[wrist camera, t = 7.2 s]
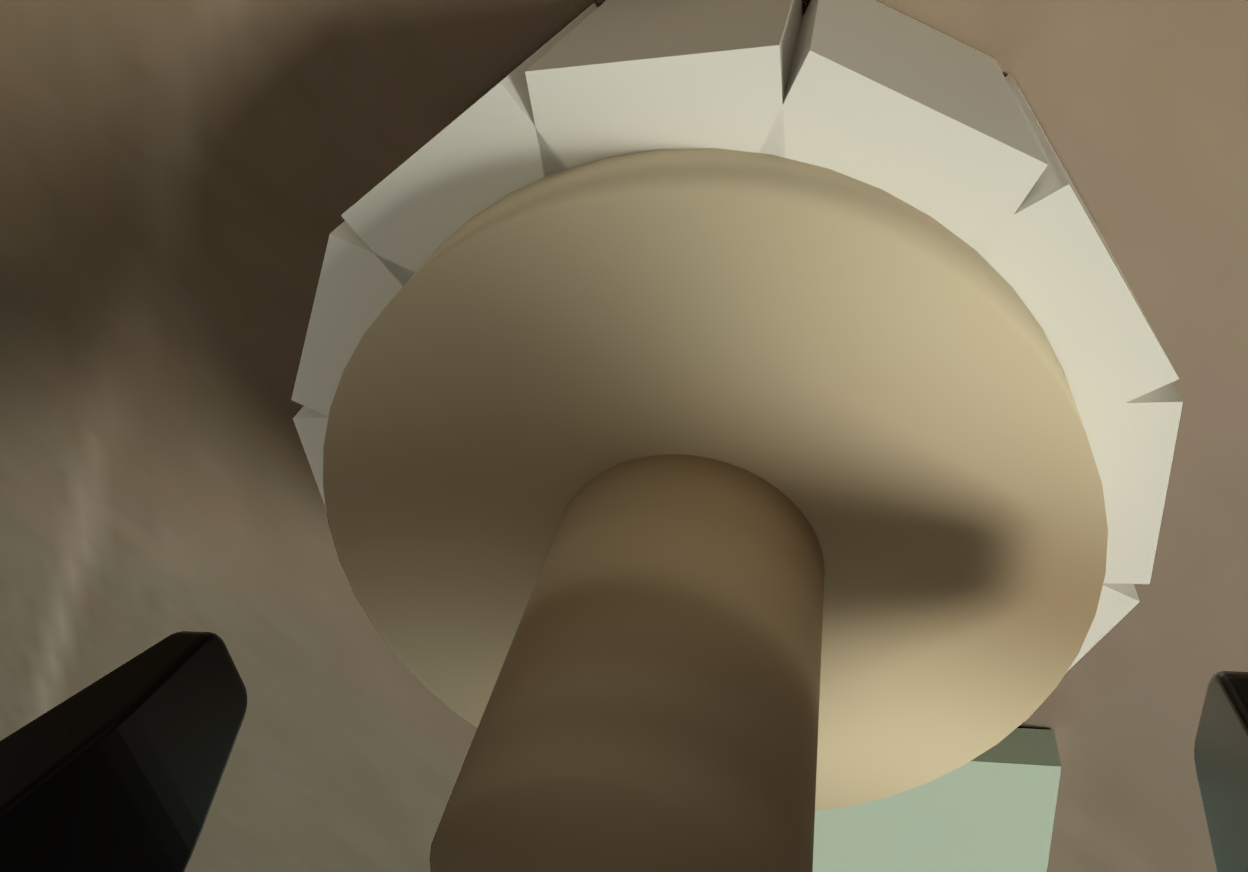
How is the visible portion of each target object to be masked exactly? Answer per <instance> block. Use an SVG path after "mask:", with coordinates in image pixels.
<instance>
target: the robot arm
mask: <svg viewBox="0 0 1248 872" xmlns="http://www.w3.org/2000/svg"><path fill="white" fill-rule="evenodd" d="M246 707H247V692H246V688H245V685H244V683H243V681H242V679H241V677H240V675H239V673H238V671H237V669H236V666H235V664H234V662H233V660H232V658H231V656H230V654H229V652H228V650H227V648H226V645H225V643H224V642H223V640H222V639H221V638H220V637H219V636H218V635H216V634H214V633H211V632H188V631H183V632H177V633H174V634H172V635H170V636H168V637H167V638H165V639H163V640H162V641H160V642H159V643H157V644H155V645H154V646H152V647H151V648H149V649H147V650H146V651H144V652H143V653H141V654H139V655H138V656H136V657H134V658H133V659H131V660H130V661H128V662H126V663H125V664H123V665H122V666H120V667H118V668H117V669H115V670H114V671H112V672H110V673H109V674H107V675H106V676H104V677H102V678H101V679H99V680H98V681H96V682H94V683H93V684H91V685H90V686H88V687H86V688H85V689H83V690H82V691H80V692H78V693H77V694H75V695H74V696H72V697H70V698H69V699H67V700H66V701H64V702H62V703H61V704H59V705H58V706H56V707H54V708H53V709H51V710H50V711H48V712H46V713H45V714H43V715H42V716H40V717H38V718H37V719H35V720H33V721H32V722H30V723H29V724H27V725H25V726H24V727H22V728H21V729H19V730H17V731H16V732H14V733H13V734H11V735H9V736H8V737H6V738H5V739H3V740H1V741H0V872H184V871H185V868H186V866H187V864H188V862H189V860H190V858H191V855H192V853H193V850H194V848H195V846H196V843H197V841H198V838H199V836H200V833H201V831H202V828H203V825H204V823H205V820H206V817H207V815H208V812H209V809H210V807H211V804H212V801H213V799H214V796H215V793H216V791H217V788H218V785H219V783H220V780H221V777H222V775H223V772H224V769H225V767H226V764H227V761H228V759H229V756H230V753H231V751H232V748H233V745H234V743H235V740H236V737H237V735H238V732H239V729H240V727H241V724H242V721H243V719H244V716H245V712H246ZM1194 753H1195V766H1196V772H1197V777H1198V782H1199V787H1200V791H1201V796H1202V801H1203V806H1204V810H1205V815H1206V820H1207V825H1208V829H1209V834H1210V839H1211V843H1212V848H1213V853H1214V858H1215V862H1216V867H1217V872H1248V672H1231V671H1222V672H1218V673H1216V674H1214V675H1213V677H1212V678H1211V680H1210V682H1209V685H1208V688H1207V692H1206V697H1205V701H1204V705H1203V709H1202V714H1201V718H1200V722H1199V726H1198V730H1197V735H1196V739H1195V749H1194Z"/></svg>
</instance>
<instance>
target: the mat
mask: <svg viewBox="0 0 1248 872" xmlns="http://www.w3.org/2000/svg"><path fill="white" fill-rule="evenodd" d="M1060 772H1061V763H1060V758H1059V753H1058V749H1057V744H1056V739H1055V734H1054V730H1046V729H1027V728H1016V729H1015V730H1014V731H1012V732H1011V733H1010V734H1009V735H1008V736H1006V737H1005V738H1004V739H1003V740H1002V741H1000V742H999V743H998V744H997V745H995V746H993V747H992V748H990V749H989V750H987V751H986V752H984V753H982V754H981V755H979V756H978V757H976V758H975V759H973V760H971V761H970V762H968V763H967V764H965V765H963V766H962V767H959V768H957V769H955V770H953V771H951V772H949V773H947V774H945V775H943V776H941V777H939V778H936V779H934V780H932V781H930V782H928V783H926V784H923V785H920V786H918V787H915V788H912V789H909V790H906V791H903V792H900V793H898V794H895V795H892V796H889V797H886V798H882V799H878V800H874V801H869V802H865V803H861V804H857V805H853V806H849V807H843V808H836V809H829V810H822V811H815V821H814V846H813V870H812V872H1047V866H1048V859H1049V852H1050V844H1051V837H1052V830H1053V823H1054V815H1055V808H1056V801H1057V794H1058V787H1059V779H1060Z"/></svg>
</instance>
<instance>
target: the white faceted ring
mask: <svg viewBox="0 0 1248 872" xmlns="http://www.w3.org/2000/svg"><path fill="white" fill-rule="evenodd" d="M701 148H718V149H727V150H736V151H745V152H753V153H762V154H771V155H776V156H780V157H784V158H788V159H792V160H796V161H800V162H804V163H808V164H812V165H816V166H820V167H824V168H828V169H831V170H834V171H836V172H839V173H841V174H844V175H847V176H849V177H852V178H854V179H857V180H859V181H862V182H864V183H867V184H869V185H872V186H875V187H877V188H880V189H882V190H884V191H886V192H888V193H890V194H891V195H893V196H895V197H897V198H899V199H900V200H902V201H904V202H906V203H908V204H909V205H911V206H913V207H915V208H916V209H918V210H920V211H922V212H924V213H925V214H927V215H929V216H931V217H932V218H934V219H935V220H936V221H938V222H939V223H940V224H942V225H943V226H944V227H946V228H947V229H948V230H950V231H951V232H952V233H954V234H955V235H956V236H958V237H959V238H960V239H962V240H963V241H964V242H966V243H967V244H968V245H970V246H971V247H972V248H974V249H975V250H976V251H977V252H978V253H979V254H980V255H981V256H982V257H983V258H984V259H985V260H986V261H987V262H988V263H989V264H990V265H991V266H992V267H993V268H994V269H995V270H996V271H997V272H998V273H999V274H1000V275H1001V276H1002V277H1003V278H1004V279H1005V280H1006V281H1007V282H1008V283H1009V284H1010V285H1011V286H1012V287H1013V288H1014V290H1015V291H1016V293H1017V294H1018V295H1019V297H1020V298H1021V299H1022V301H1023V302H1024V304H1025V305H1026V306H1027V308H1028V309H1029V310H1030V312H1031V313H1032V315H1033V316H1034V317H1035V319H1036V320H1037V321H1038V323H1039V324H1040V326H1041V327H1042V328H1043V330H1044V332H1045V334H1046V336H1047V338H1048V340H1049V342H1050V344H1051V346H1052V348H1053V350H1054V352H1055V354H1056V356H1057V358H1058V360H1059V362H1060V364H1061V366H1062V368H1063V370H1064V372H1065V375H1066V378H1067V381H1068V383H1069V386H1070V389H1071V392H1072V395H1073V398H1074V400H1075V403H1076V406H1077V409H1078V412H1079V415H1080V417H1081V420H1082V423H1083V426H1084V429H1085V432H1086V435H1087V437H1088V441H1089V444H1090V447H1091V450H1092V453H1093V456H1094V460H1095V463H1096V466H1097V469H1098V472H1099V476H1100V479H1101V482H1102V486H1103V494H1104V502H1105V510H1106V518H1107V526H1108V539H1107V557H1106V574H1105V578H1104V582H1103V586H1102V590H1101V595H1100V599H1099V603H1098V607H1097V611H1096V615H1095V617H1094V620H1093V622H1092V624H1091V626H1090V629H1089V631H1088V633H1087V636H1086V638H1085V640H1084V642H1083V645H1082V647H1081V649H1080V652H1079V654H1078V655H1077V657H1076V658H1075V660H1074V661H1073V663H1072V664H1071V666H1070V667H1069V669H1070V668H1071V667H1072V666H1073V665H1074V664H1076V663H1077V662H1078V661H1079V660H1080V659H1081V658H1082V657H1083V656H1084V655H1085V654H1086V653H1087V652H1088V651H1089V650H1090V649H1091V648H1092V647H1093V646H1094V645H1095V644H1096V643H1097V642H1098V641H1099V640H1100V639H1101V638H1102V637H1104V636H1105V635H1106V634H1107V633H1108V632H1109V631H1110V630H1111V629H1112V628H1113V627H1114V626H1115V625H1116V624H1117V623H1118V622H1119V621H1120V620H1121V619H1122V618H1123V617H1124V616H1125V615H1126V614H1127V613H1128V612H1129V611H1130V610H1131V609H1133V608H1134V607H1135V606H1136V605H1137V604H1138V603H1139V602H1140V601H1139V598H1138V595H1137V592H1136V590H1135V587H1134V584H1150V580H1151V574H1152V569H1153V563H1154V558H1155V552H1156V547H1157V541H1158V536H1159V530H1160V525H1161V519H1162V514H1163V508H1164V503H1165V497H1166V492H1167V486H1168V481H1169V475H1170V470H1171V464H1172V459H1173V453H1174V448H1175V442H1176V437H1177V431H1178V426H1179V420H1180V415H1181V409H1182V404H1183V401H1182V399H1181V397H1180V395H1179V394H1178V392H1177V390H1176V388H1175V386H1174V384H1173V382H1174V381H1176V380H1178V379H1179V378H1178V376H1177V374H1176V372H1175V370H1174V369H1173V367H1172V365H1171V363H1170V361H1169V359H1168V357H1167V356H1166V354H1165V352H1164V350H1163V348H1162V346H1161V344H1160V343H1159V341H1158V339H1157V337H1156V335H1155V333H1154V331H1153V330H1152V328H1151V326H1150V324H1149V322H1148V320H1147V319H1146V317H1145V315H1144V313H1143V311H1142V309H1141V307H1140V306H1139V304H1138V302H1137V300H1136V298H1135V296H1134V294H1133V293H1132V291H1131V289H1130V287H1129V285H1128V283H1127V281H1126V280H1125V278H1124V276H1123V274H1122V272H1121V270H1120V268H1119V267H1118V265H1117V263H1116V261H1115V259H1114V257H1113V255H1112V254H1111V252H1110V250H1109V248H1108V246H1107V244H1106V242H1105V241H1104V239H1103V237H1102V235H1101V233H1100V231H1099V229H1098V228H1097V226H1096V224H1095V222H1094V220H1093V219H1092V217H1091V215H1090V213H1089V212H1088V210H1087V208H1086V206H1085V204H1084V203H1083V201H1082V199H1081V197H1080V196H1079V194H1078V192H1077V190H1076V188H1075V187H1074V185H1073V183H1072V181H1071V180H1070V178H1069V176H1068V174H1067V172H1066V171H1065V169H1064V167H1063V165H1062V163H1061V162H1060V160H1059V158H1058V156H1057V155H1056V153H1055V151H1054V149H1053V147H1052V146H1051V144H1050V142H1049V140H1048V139H1047V137H1046V135H1045V133H1044V131H1043V130H1042V128H1041V126H1040V124H1039V123H1038V121H1037V119H1036V117H1035V115H1034V114H1033V112H1032V110H1031V108H1030V107H1029V105H1028V103H1027V101H1026V99H1025V98H1024V96H1023V94H1022V92H1021V91H1020V89H1019V87H1018V85H1017V83H1016V82H1015V80H1014V78H1013V76H1012V75H1011V74H1009V75H1007V76H1006V77H1004V75H1003V73H1002V71H1001V69H1000V67H999V65H998V63H997V61H996V59H995V58H993V57H990V56H988V55H986V54H984V53H982V52H980V51H978V50H976V49H974V48H972V47H970V46H968V45H966V44H964V43H962V42H960V41H957V40H955V39H953V38H951V37H949V36H947V35H945V34H943V33H941V32H939V31H937V30H935V29H933V28H931V27H929V26H927V25H925V24H922V23H920V22H918V21H916V20H914V19H912V18H910V17H908V16H906V15H904V14H902V13H900V12H898V11H896V10H894V9H892V8H889V7H887V6H885V5H883V4H881V3H879V2H877V1H875V0H811V1H810V3H809V5H808V7H807V9H806V11H805V13H804V15H803V13H802V0H606V1H605V2H604V3H603V4H601V5H600V6H599V7H597V6H596V4H595V3H593V4H592V5H591V6H589V7H588V8H587V9H586V10H585V11H583V12H582V13H581V14H580V15H579V16H578V17H576V18H575V19H574V20H573V21H572V22H570V23H569V24H568V25H567V26H566V27H564V28H563V29H562V30H561V31H560V32H558V33H557V34H556V35H555V36H554V37H552V38H551V39H550V40H549V41H548V42H546V43H545V44H544V45H543V46H542V47H540V48H539V49H538V50H537V51H536V52H534V53H533V54H532V55H531V56H530V57H529V58H527V59H526V60H525V61H524V62H523V63H521V64H520V65H519V66H518V67H517V68H515V69H514V70H513V71H512V72H511V73H509V74H508V75H507V76H506V77H505V78H503V79H502V80H501V81H500V82H499V83H497V84H496V85H495V86H494V87H493V88H491V89H490V90H489V91H488V92H487V93H485V94H484V95H483V96H482V97H481V98H480V99H478V100H477V101H476V102H475V103H474V104H472V105H471V106H470V107H469V108H468V109H466V110H465V111H464V112H463V113H462V114H460V115H459V116H458V117H457V118H456V119H455V120H453V121H452V122H451V123H450V124H449V125H447V126H446V127H445V128H444V129H443V130H441V131H440V132H439V133H438V134H437V135H436V136H434V137H433V138H432V139H431V140H430V141H428V142H427V143H426V144H425V145H424V146H422V147H421V148H420V149H419V150H418V151H417V152H415V153H414V154H413V155H412V156H411V157H409V158H408V159H407V160H406V161H405V162H404V163H402V164H401V165H400V166H399V167H398V168H396V169H395V170H394V171H393V172H392V173H390V174H389V175H388V176H387V177H386V178H385V179H383V180H382V181H381V182H380V183H379V184H377V185H376V186H375V187H374V188H373V189H371V190H370V191H369V192H368V193H367V194H366V195H364V196H363V197H362V198H361V199H360V200H358V201H357V202H356V203H355V204H354V205H353V206H351V207H350V208H349V209H348V210H347V211H345V212H344V213H343V214H342V215H341V216H342V217H343V219H344V220H345V221H344V222H343V223H342V224H340V225H339V226H338V227H337V228H336V229H335V230H333V231H332V232H331V233H330V235H329V239H328V243H327V248H326V252H325V256H324V260H323V265H322V269H321V273H320V278H319V282H318V286H317V291H316V295H315V299H314V304H313V308H312V312H311V317H310V321H309V325H308V329H307V334H306V338H305V342H304V347H303V351H302V355H301V360H300V364H299V368H298V373H297V377H296V381H295V386H294V390H293V394H292V398H291V400H292V401H294V402H297V403H299V404H301V405H303V407H302V409H301V410H300V411H299V412H298V413H297V414H296V415H295V417H294V418H293V421H294V423H295V426H296V429H297V432H298V434H299V437H300V440H301V443H302V445H303V448H304V451H305V453H306V456H307V459H308V462H309V464H310V467H311V470H312V472H313V475H314V478H315V481H316V483H317V486H318V489H319V492H320V494H321V497H322V500H323V502H324V505H325V508H326V503H325V496H324V490H323V446H324V440H325V435H326V429H327V423H328V417H329V412H330V407H331V404H332V402H333V399H334V396H335V393H336V390H337V387H338V385H339V382H340V379H341V376H342V373H343V371H344V369H345V367H346V365H347V363H348V361H349V360H350V358H351V356H352V354H353V353H354V351H355V349H356V347H357V345H358V344H359V342H360V340H361V338H362V337H363V335H364V333H365V332H366V331H367V329H368V328H369V327H370V326H371V324H372V323H373V322H374V321H375V319H376V318H377V317H378V316H379V315H380V313H381V312H382V311H383V310H384V308H385V307H386V306H387V305H388V303H389V302H390V301H391V300H392V298H393V297H394V296H395V295H396V294H397V293H398V292H399V291H400V290H401V288H402V287H403V286H404V285H405V284H406V283H407V282H408V281H409V279H410V278H411V277H412V276H413V275H414V274H415V273H416V272H417V271H418V269H419V268H420V267H421V266H422V265H423V264H424V263H425V262H426V261H427V259H428V258H429V257H430V256H431V255H432V254H433V253H434V252H435V250H436V249H437V248H438V247H439V246H441V245H442V244H443V243H444V242H445V241H446V240H447V239H448V238H450V237H451V236H452V235H453V234H454V233H455V232H456V231H457V230H458V229H460V228H461V227H462V226H463V225H464V224H465V223H466V222H467V221H469V220H470V219H471V218H472V217H474V216H475V215H477V214H479V213H480V212H482V211H483V210H485V209H486V208H488V207H489V206H491V205H492V204H494V203H495V202H497V201H499V200H500V199H502V198H503V197H505V196H506V195H508V194H509V193H511V192H513V191H515V190H518V189H520V188H522V187H524V186H526V185H529V184H531V183H533V182H535V181H537V180H540V179H542V178H544V177H546V176H548V175H551V174H553V173H555V172H558V171H561V170H565V169H568V168H571V167H575V166H578V165H582V164H585V163H588V162H592V161H595V160H599V159H602V158H605V157H612V156H618V155H625V154H631V153H638V152H645V151H651V150H658V149H701ZM326 511H327V510H326ZM1069 669H1068V670H1069ZM1068 670H1067V671H1068Z"/></svg>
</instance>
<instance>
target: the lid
mask: <svg viewBox="0 0 1248 872" xmlns="http://www.w3.org/2000/svg"><path fill="white" fill-rule="evenodd" d="M323 490H324V496H325V503H326V510H327V517H328V524H329V527H330V531H331V534H332V537H333V541H334V544H335V547H336V551H337V554H338V558H339V561H340V563H341V565H342V567H343V570H344V572H345V574H346V576H347V579H348V581H349V583H350V585H351V587H352V590H353V592H354V594H355V596H356V598H357V599H358V601H359V603H360V604H361V606H362V608H363V609H364V611H365V613H366V614H367V616H368V618H369V619H370V621H371V623H372V624H373V626H374V627H375V629H376V630H377V632H378V633H379V634H380V635H381V637H382V638H383V639H384V641H385V642H386V643H387V644H388V646H389V647H390V648H391V650H392V651H393V652H394V654H395V655H396V656H397V657H398V659H399V660H400V661H401V662H402V663H403V664H404V665H405V666H406V667H407V668H408V669H409V670H410V671H411V672H412V673H413V674H414V675H415V677H416V678H417V679H418V680H419V681H420V682H421V683H422V684H423V685H424V686H425V687H426V688H427V689H428V690H429V691H431V692H432V693H433V694H434V695H435V696H436V697H438V698H439V699H440V700H441V701H442V702H443V703H445V704H446V705H447V706H448V707H449V708H450V709H452V710H453V711H454V712H455V713H456V714H458V715H459V716H461V717H462V718H463V719H465V720H466V721H468V722H469V723H470V724H472V725H473V726H475V727H476V728H477V731H476V733H475V736H474V738H473V741H472V743H471V746H470V748H469V751H468V753H467V756H466V758H465V761H464V763H463V766H462V768H461V771H460V773H459V776H458V778H457V781H456V783H455V786H454V788H453V791H452V793H451V796H450V798H449V801H448V803H447V806H446V808H445V811H444V813H443V816H442V818H441V821H440V823H439V826H438V828H437V831H436V834H435V836H434V839H433V842H432V844H431V852H430V868H431V872H812V870H813V846H814V821H815V811H822V810H829V809H836V808H843V807H849V806H853V805H857V804H861V803H865V802H869V801H874V800H878V799H882V798H886V797H889V796H892V795H895V794H898V793H900V792H903V791H906V790H909V789H912V788H915V787H918V786H920V785H923V784H926V783H928V782H930V781H932V780H934V779H936V778H939V777H941V776H943V775H945V774H947V773H949V772H951V771H953V770H955V769H957V768H959V767H962V766H963V765H965V764H967V763H968V762H970V761H971V760H973V759H975V758H976V757H978V756H979V755H981V754H982V753H984V752H986V751H987V750H989V749H990V748H992V747H993V746H995V745H997V744H998V743H999V742H1000V741H1002V740H1003V739H1004V738H1005V737H1006V736H1008V735H1009V734H1010V733H1011V732H1012V731H1014V730H1015V729H1016V728H1017V727H1018V726H1020V725H1021V724H1022V723H1023V722H1024V721H1026V720H1027V719H1028V718H1029V717H1030V716H1031V715H1032V714H1033V713H1034V712H1035V711H1036V709H1037V708H1038V707H1039V706H1040V705H1041V704H1042V703H1043V702H1044V701H1045V699H1046V698H1047V697H1048V696H1049V695H1050V694H1051V693H1052V692H1053V691H1054V689H1055V688H1056V687H1057V686H1058V684H1059V683H1060V681H1061V680H1062V678H1063V677H1064V675H1065V673H1066V672H1067V670H1068V669H1069V667H1070V666H1071V664H1072V663H1073V661H1074V660H1075V658H1076V657H1077V655H1078V654H1079V652H1080V649H1081V647H1082V645H1083V642H1084V640H1085V638H1086V636H1087V633H1088V631H1089V629H1090V626H1091V624H1092V622H1093V620H1094V617H1095V615H1096V611H1097V607H1098V603H1099V599H1100V595H1101V590H1102V586H1103V582H1104V578H1105V574H1106V557H1107V539H1108V526H1107V518H1106V510H1105V502H1104V494H1103V486H1102V482H1101V479H1100V476H1099V472H1098V469H1097V466H1096V463H1095V460H1094V456H1093V453H1092V450H1091V447H1090V444H1089V441H1088V437H1087V435H1086V432H1085V429H1084V426H1083V423H1082V420H1081V417H1080V415H1079V412H1078V409H1077V406H1076V403H1075V400H1074V398H1073V395H1072V392H1071V389H1070V386H1069V383H1068V381H1067V378H1066V375H1065V372H1064V370H1063V368H1062V366H1061V364H1060V362H1059V360H1058V358H1057V356H1056V354H1055V352H1054V350H1053V348H1052V346H1051V344H1050V342H1049V340H1048V338H1047V336H1046V334H1045V332H1044V330H1043V328H1042V327H1041V326H1040V324H1039V323H1038V321H1037V320H1036V319H1035V317H1034V316H1033V315H1032V313H1031V312H1030V310H1029V309H1028V308H1027V306H1026V305H1025V304H1024V302H1023V301H1022V299H1021V298H1020V297H1019V295H1018V294H1017V293H1016V291H1015V290H1014V288H1013V287H1012V286H1011V285H1010V284H1009V283H1008V282H1007V281H1006V280H1005V279H1004V278H1003V277H1002V276H1001V275H1000V274H999V273H998V272H997V271H996V270H995V269H994V268H993V267H992V266H991V265H990V264H989V263H988V262H987V261H986V260H985V259H984V258H983V257H982V256H981V255H980V254H979V253H978V252H977V251H976V250H975V249H974V248H972V247H971V246H970V245H968V244H967V243H966V242H964V241H963V240H962V239H960V238H959V237H958V236H956V235H955V234H954V233H952V232H951V231H950V230H948V229H947V228H946V227H944V226H943V225H942V224H940V223H939V222H938V221H936V220H935V219H934V218H932V217H931V216H929V215H927V214H925V213H924V212H922V211H920V210H918V209H916V208H915V207H913V206H911V205H909V204H908V203H906V202H904V201H902V200H900V199H899V198H897V197H895V196H893V195H891V194H890V193H888V192H886V191H884V190H882V189H880V188H877V187H875V186H872V185H869V184H867V183H864V182H862V181H859V180H857V179H854V178H852V177H849V176H847V175H844V174H841V173H839V172H836V171H834V170H831V169H828V168H824V167H820V166H816V165H812V164H808V163H804V162H800V161H796V160H792V159H788V158H784V157H780V156H776V155H771V154H762V153H753V152H745V151H736V150H727V149H718V148H701V149H658V150H651V151H645V152H638V153H631V154H625V155H618V156H612V157H605V158H602V159H599V160H595V161H592V162H588V163H585V164H582V165H578V166H575V167H571V168H568V169H565V170H561V171H558V172H555V173H553V174H551V175H548V176H546V177H544V178H542V179H540V180H537V181H535V182H533V183H531V184H529V185H526V186H524V187H522V188H520V189H518V190H515V191H513V192H511V193H509V194H508V195H506V196H505V197H503V198H502V199H500V200H499V201H497V202H495V203H494V204H492V205H491V206H489V207H488V208H486V209H485V210H483V211H482V212H480V213H479V214H477V215H475V216H474V217H472V218H471V219H470V220H469V221H467V222H466V223H465V224H464V225H463V226H462V227H461V228H460V229H458V230H457V231H456V232H455V233H454V234H453V235H452V236H451V237H450V238H448V239H447V240H446V241H445V242H444V243H443V244H442V245H441V246H439V247H438V248H437V249H436V250H435V252H434V253H433V254H432V255H431V256H430V257H429V258H428V259H427V261H426V262H425V263H424V264H423V265H422V266H421V267H420V268H419V269H418V271H417V272H416V273H415V274H414V275H413V276H412V277H411V278H410V279H409V281H408V282H407V283H406V284H405V285H404V286H403V287H402V288H401V290H400V291H399V292H398V293H397V294H396V295H395V296H394V297H393V298H392V300H391V301H390V302H389V303H388V305H387V306H386V307H385V308H384V310H383V311H382V312H381V313H380V315H379V316H378V317H377V318H376V319H375V321H374V322H373V323H372V324H371V326H370V327H369V328H368V329H367V331H366V332H365V333H364V335H363V337H362V338H361V340H360V342H359V344H358V345H357V347H356V349H355V351H354V353H353V354H352V356H351V358H350V360H349V361H348V363H347V365H346V367H345V369H344V371H343V373H342V376H341V379H340V382H339V385H338V387H337V390H336V393H335V396H334V399H333V402H332V404H331V407H330V412H329V417H328V423H327V429H326V435H325V440H324V446H323Z"/></svg>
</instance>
